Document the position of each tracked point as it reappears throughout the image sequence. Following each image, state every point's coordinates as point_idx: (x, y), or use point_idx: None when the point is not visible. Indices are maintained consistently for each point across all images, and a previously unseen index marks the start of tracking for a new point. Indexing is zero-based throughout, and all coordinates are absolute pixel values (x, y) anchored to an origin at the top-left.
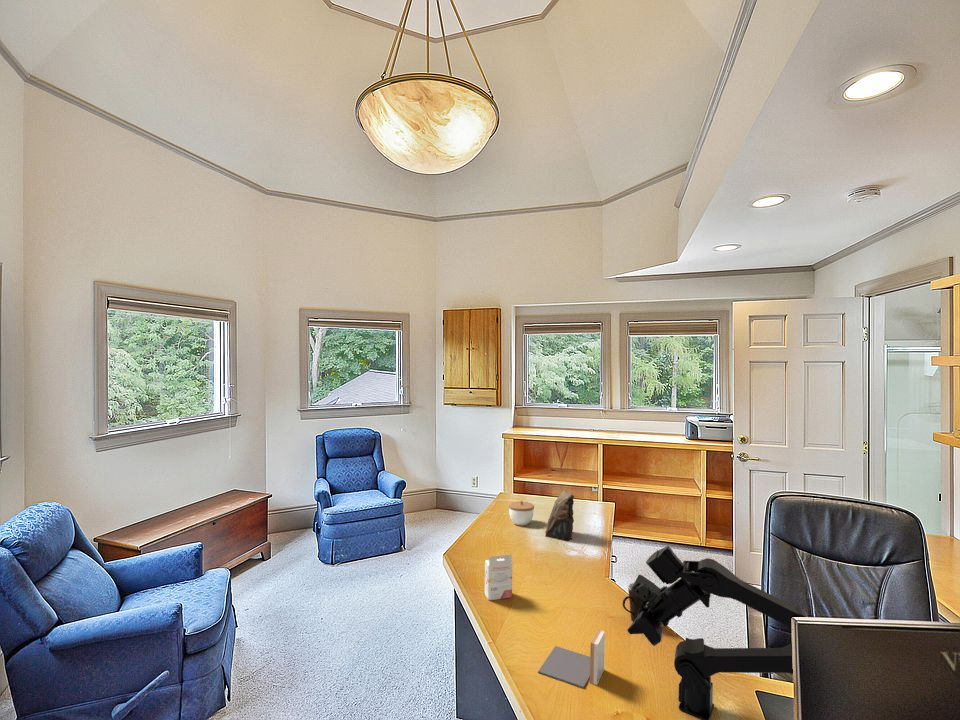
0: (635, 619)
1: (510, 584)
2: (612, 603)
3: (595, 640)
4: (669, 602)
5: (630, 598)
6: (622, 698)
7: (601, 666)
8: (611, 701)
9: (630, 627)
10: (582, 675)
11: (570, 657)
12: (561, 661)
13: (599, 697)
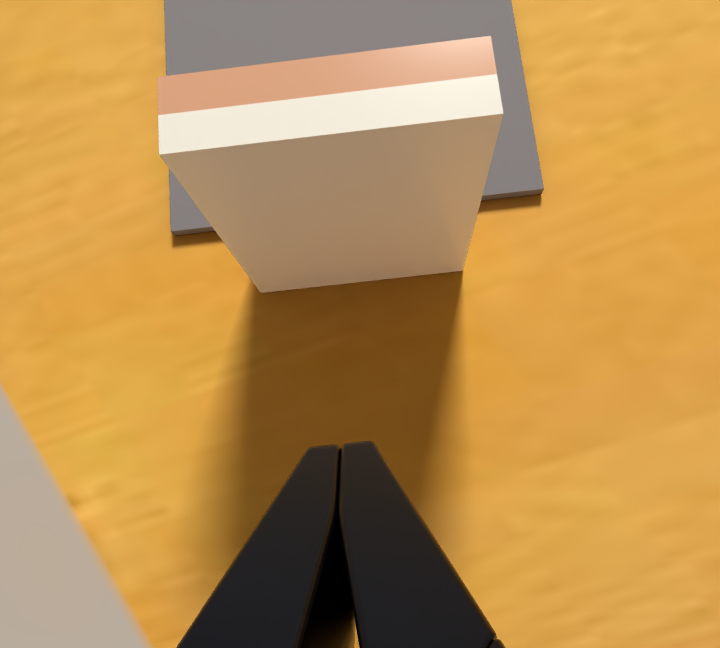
0: (465, 610)
1: None
2: None
3: (232, 101)
4: None
5: None
6: (220, 492)
7: (375, 256)
8: (147, 436)
9: (262, 523)
10: None
11: (432, 33)
12: (347, 7)
13: (144, 353)
